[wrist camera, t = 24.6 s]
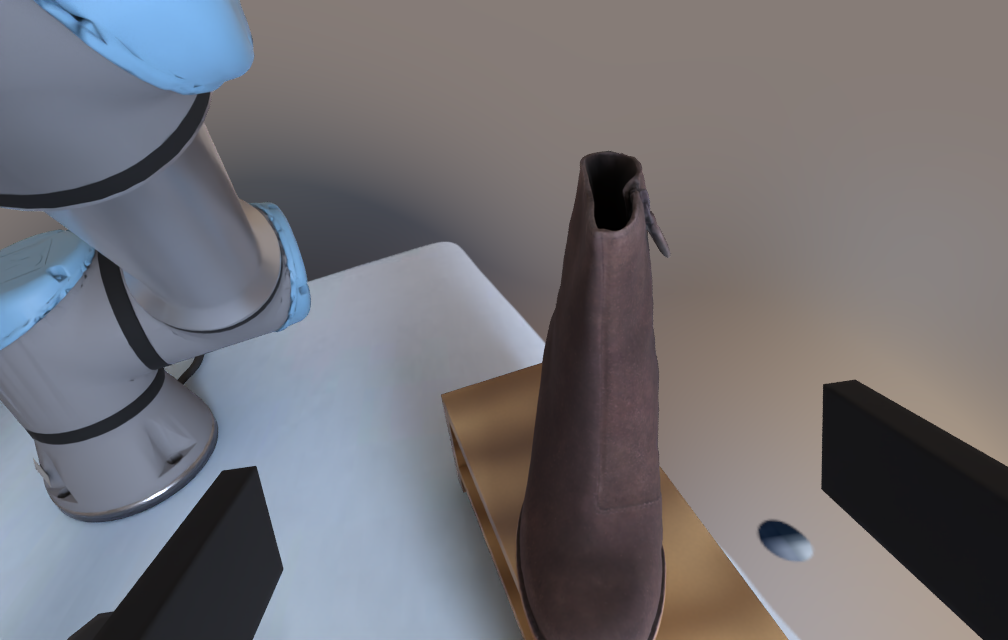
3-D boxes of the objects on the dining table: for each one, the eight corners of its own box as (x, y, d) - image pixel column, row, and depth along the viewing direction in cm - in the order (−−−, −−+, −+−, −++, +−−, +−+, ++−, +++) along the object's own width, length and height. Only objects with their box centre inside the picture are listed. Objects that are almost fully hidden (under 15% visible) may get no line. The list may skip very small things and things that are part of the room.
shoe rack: (458, 480, 55) (440, 394, 49) (577, 438, 58) (575, 351, 52) (601, 851, 34) (603, 788, 27) (778, 758, 37) (819, 680, 30)
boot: (497, 699, 31) (437, 429, 19) (539, 375, 50) (523, 136, 37) (675, 720, 29) (734, 442, 17) (649, 379, 48) (669, 131, 36)
